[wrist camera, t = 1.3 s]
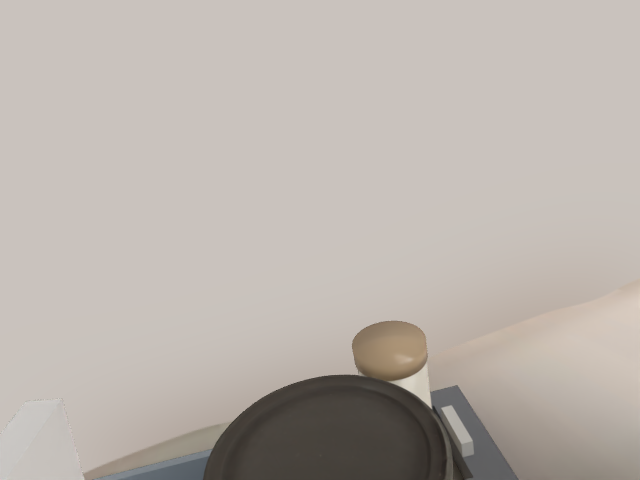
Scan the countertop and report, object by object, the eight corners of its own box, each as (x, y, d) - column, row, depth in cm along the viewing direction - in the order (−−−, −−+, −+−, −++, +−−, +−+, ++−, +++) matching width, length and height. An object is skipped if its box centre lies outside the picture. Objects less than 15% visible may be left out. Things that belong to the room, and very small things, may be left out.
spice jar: (426, 440, 40) (411, 314, 35) (450, 489, 36) (437, 353, 31) (367, 456, 39) (345, 330, 35) (384, 507, 35) (361, 372, 31)
